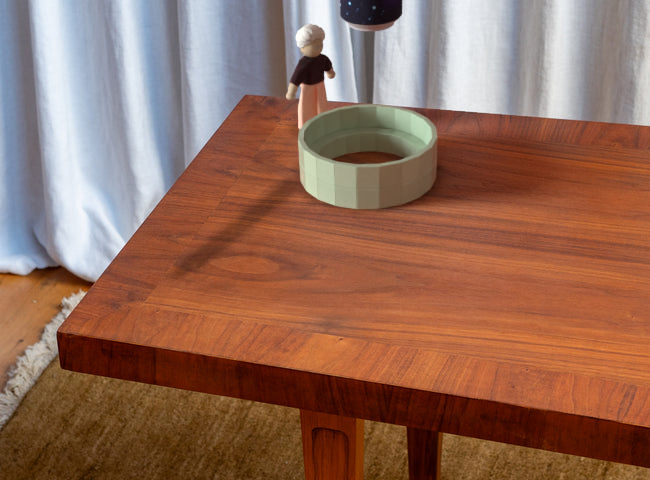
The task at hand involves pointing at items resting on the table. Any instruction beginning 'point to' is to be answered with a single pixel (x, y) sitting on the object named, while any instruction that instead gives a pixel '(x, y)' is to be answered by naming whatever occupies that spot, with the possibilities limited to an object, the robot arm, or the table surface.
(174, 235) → the table surface
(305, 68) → the grandmother figurine
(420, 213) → the table surface
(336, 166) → the green faceted ring
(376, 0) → the beverage can
